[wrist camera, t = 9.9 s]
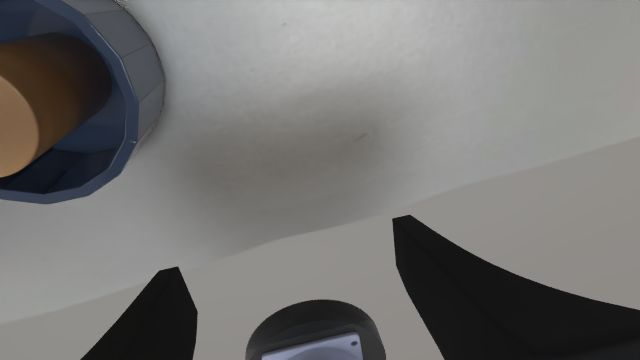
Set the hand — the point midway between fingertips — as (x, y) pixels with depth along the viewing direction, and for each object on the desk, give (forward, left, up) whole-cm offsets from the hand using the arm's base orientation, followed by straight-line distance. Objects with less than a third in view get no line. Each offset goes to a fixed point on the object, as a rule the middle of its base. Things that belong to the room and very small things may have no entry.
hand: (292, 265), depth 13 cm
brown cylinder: (+6, +9, -10) cm, 15 cm away
